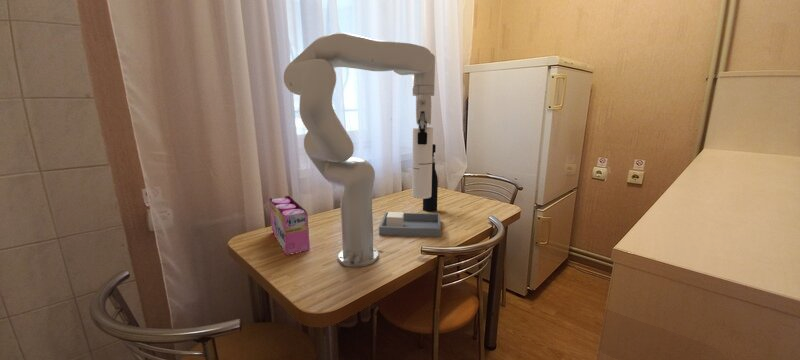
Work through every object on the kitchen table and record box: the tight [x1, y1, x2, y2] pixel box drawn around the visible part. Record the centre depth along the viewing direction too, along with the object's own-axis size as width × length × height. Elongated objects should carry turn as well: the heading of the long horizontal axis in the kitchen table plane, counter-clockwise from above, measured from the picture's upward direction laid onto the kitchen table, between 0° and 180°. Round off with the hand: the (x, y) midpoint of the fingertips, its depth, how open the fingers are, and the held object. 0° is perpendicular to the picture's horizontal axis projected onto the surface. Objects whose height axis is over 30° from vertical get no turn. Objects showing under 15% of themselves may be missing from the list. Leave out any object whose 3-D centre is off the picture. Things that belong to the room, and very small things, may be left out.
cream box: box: [386, 211, 405, 227], centre depth 122 cm, size 6×6×5 cm
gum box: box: [268, 195, 311, 255], centre depth 112 cm, size 24×8×14 cm, turn 33°
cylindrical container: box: [411, 126, 434, 200], centre depth 116 cm, size 7×7×25 cm
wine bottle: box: [422, 144, 439, 213], centre depth 139 cm, size 6×6×30 cm
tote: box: [378, 211, 442, 238], centre depth 122 cm, size 16×22×4 cm
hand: (422, 142), depth 114 cm, fingers closed on cylindrical container, 7 cm apart
